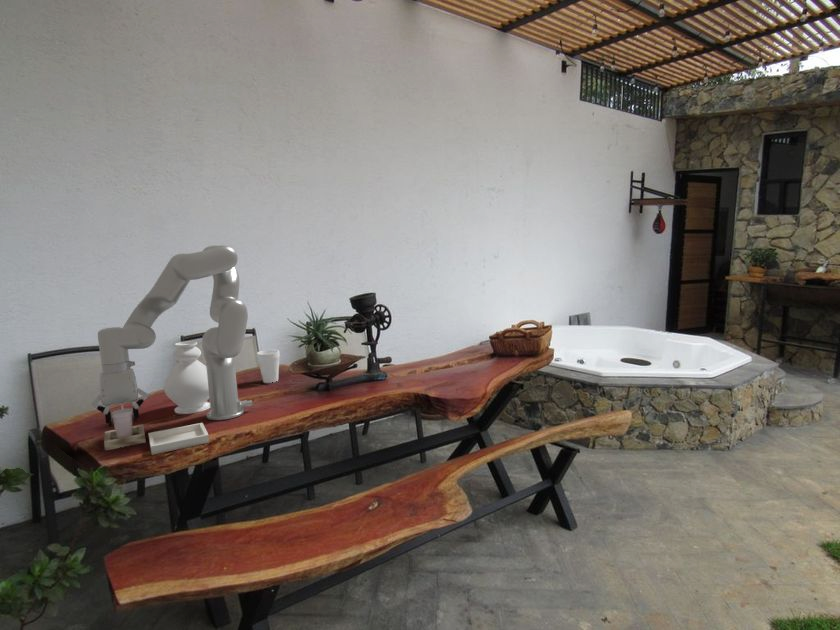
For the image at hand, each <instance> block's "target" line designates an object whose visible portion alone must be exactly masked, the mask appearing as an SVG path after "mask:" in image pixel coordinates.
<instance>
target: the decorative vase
mask: <svg viewBox="0 0 840 630" xmlns="http://www.w3.org/2000/svg"><path fill="white" fill-rule="evenodd" d="M196 345H198V341H195V340H186V341H185V340H184V341H179V342H176V343H174V347H176V348H177V349H176V350H174V351H173V354H172V357H173V359H175V360H176V361H178V362H177V363H176V364H175V366H174V367H173V368H172V369H170V372H169V373H168V375H167V376H166V378H165V380H164V383H163V390H164V394H165V395H166V397H167V398H168V399H170V401H172V402H173V403H174V404H175V405H177V406H176V407H175V408H174V413H175V414H179V415H189V414H196V413H197V414H198V413H201V412H205V411H206V410H209V409H210V401H209V402H208V400H210V399H209V389H208V379H207V369H206V364H204V363H203V362H201V361H199V360H198V359H199V357H201V355H202V351H201V349H200V348H199V347H197V346H196Z"/></svg>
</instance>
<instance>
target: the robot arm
mask: <svg viewBox="0 0 840 630" xmlns="http://www.w3.org/2000/svg"><path fill="white" fill-rule="evenodd" d="M238 259H239V257H238V254H237V252H236V250H235V249H234V248H232V247H230V246H228V245H209V246H207V247H204V248H203V249H202V250H201V251H197V252H190V253H177V254H174V255H173V256H172V257H171V258H170V260H169V261H168V263H166V266H165V268H164V269H163V271H162V272H161V273H160V275H159V277H158V278H157V279H156V282H155V283H154V284H153V287H152V288H151V289H150V290H149V291H148V293H147V294H146V295H145V296H144V297H143V299H141V300H140V301H139V302H138V304H137V306H135V308H134V309H133V310H132V312H131V313H130V316H129V317H128V318H127V320H126V322H125V323H124V325H123V326H122V327H120V326H119V327H118V326H117V327H105V328H101V329H100V330H99V331H98V332H97V341H98V349H99V356H100V363H101V371H102V372H100V374H99V392H100V393H99V394H98V395H97V396H96V397H95V398H94V399H93V400H92V401H91V403H90V406H91V407H93V408H94V409H96V410H98V411H99V412H101V413H102V414H103V415H104V418H105V423H106V424H108V427H112V425H113V423H112V422H113V420H112V417H111V415H110V413H111V411H110V408H111V406H113V405H119V404H120V405H121V403H123V404H127V403H131V405H132V406H133V407H132V409H133V412H134V413H133V419H134V422H138V419H139V418H140V413H139V408H140V407H141V405H142V404H143V403H144V401H146V399H147V398H148V397H149V393H148V392H146V391H144V390H142V389H141V388H140V387H138V382H137V378H136V374H135V371H134V368H132V367H134V366H136V362H135V361H134V360H133V361H132V360H130V356H129V350H142V349H143V350H144V349H147V348H149V347H151V346H152V345H153V344H154V343H155V341H156V340H157V339H156V338H157V334H156V332H155V330H154V329H153V328H152V327H153V324H154V323H155V322H156V321H157V319H158V318H159V317H160V316H161V315H162V314H163V313H164V312H166V311H167V310H169V309H171V308H172V307H174V306H175V305H176V304H177V303H178V301H179V299H180V298H181V296H182V294H183V293H184V291H185V290H186V289H187V286H188V285H189V283H190V281H195V280H200V279H203V278H208V277H211V276H212V278H213V280H212V281H213V286H212V287H213V288H212V295H211V301H210V306H209V316H210V318H211V319H212V321H213V322H215V323H217V324H218V326H217V327H215V326H214V327H211V328H209V329H208V330H206V331H205V332H204V334H203V335H202V339H201V348H202V351H203V356H204V361H205V366H206V369H207V379H208V389H209V399H208V400H209V403H210V408H209V409H210V410H208V412H207V413H206V419H208V420H210V421H223V420H224V421H225V420H230V419H235V418H237V417H240V416H242V415H243V414H244V413H245V412H244V410H245V409H244V408H245V407H250V406H251V407H252V406H253V401H252V400H247V399H245V400H240V399H239V394H238V384H237V383H238V382H237V372H236V370H237V369H236V363H235V357H237V356H239V354H240V353H241V352H242V349H243V347H244V342H245V339H246V330H247V324H248V318H249V317H248V315H249V314H248V309H247V306H246V304H245V303H244V302H243V301H242V300H240V299H239V295H240V294H239V292H240V275H239V272H238V270H237V268H236V266H237V265H238V264H237V263H238ZM139 395H140V398H139ZM99 402H101V404H99ZM102 405H103V406H102Z"/></svg>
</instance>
